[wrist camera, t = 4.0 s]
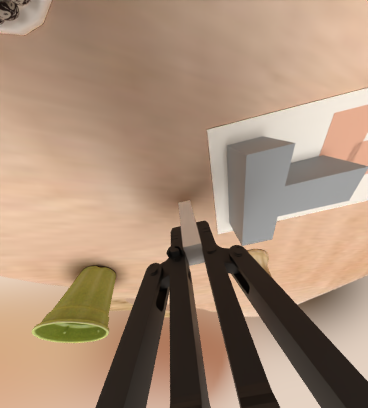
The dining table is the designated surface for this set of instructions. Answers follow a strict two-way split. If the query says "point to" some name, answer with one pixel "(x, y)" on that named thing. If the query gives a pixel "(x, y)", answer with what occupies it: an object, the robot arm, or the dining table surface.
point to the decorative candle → (22, 15)
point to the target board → (298, 143)
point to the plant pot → (81, 309)
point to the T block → (281, 185)
